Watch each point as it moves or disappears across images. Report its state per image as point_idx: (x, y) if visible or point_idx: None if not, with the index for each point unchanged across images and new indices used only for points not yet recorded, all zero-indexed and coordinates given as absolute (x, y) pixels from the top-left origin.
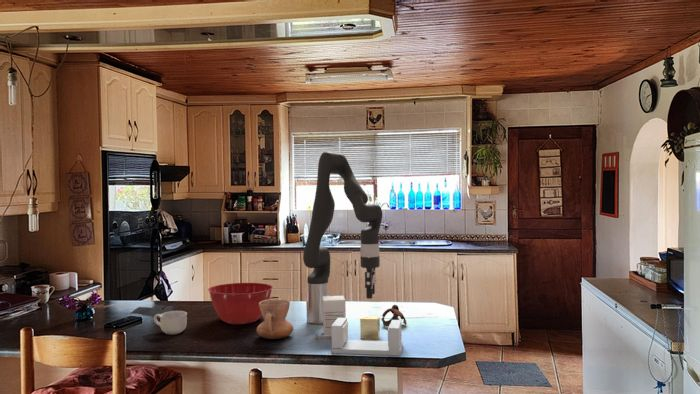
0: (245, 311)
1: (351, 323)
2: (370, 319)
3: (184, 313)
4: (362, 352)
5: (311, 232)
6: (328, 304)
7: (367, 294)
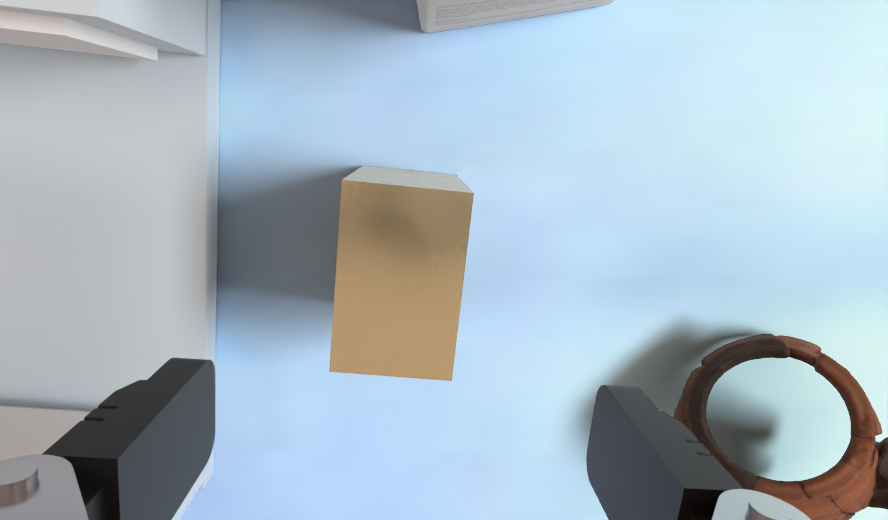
0: None
1: (875, 56)
2: (335, 292)
3: None
4: None
5: None
6: None
7: (96, 414)
